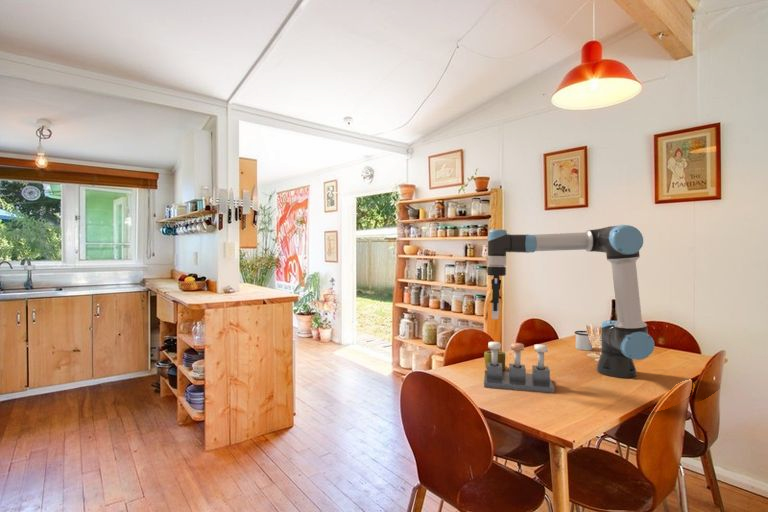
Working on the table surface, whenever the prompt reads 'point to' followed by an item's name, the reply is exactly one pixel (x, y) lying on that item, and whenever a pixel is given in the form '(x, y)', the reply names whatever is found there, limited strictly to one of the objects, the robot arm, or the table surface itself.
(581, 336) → the mug
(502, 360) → the mug
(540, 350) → the knob near
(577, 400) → the table surface
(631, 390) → the table surface
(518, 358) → the pink capped peg
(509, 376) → the mount
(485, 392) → the table surface
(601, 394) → the table surface
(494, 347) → the knob far
